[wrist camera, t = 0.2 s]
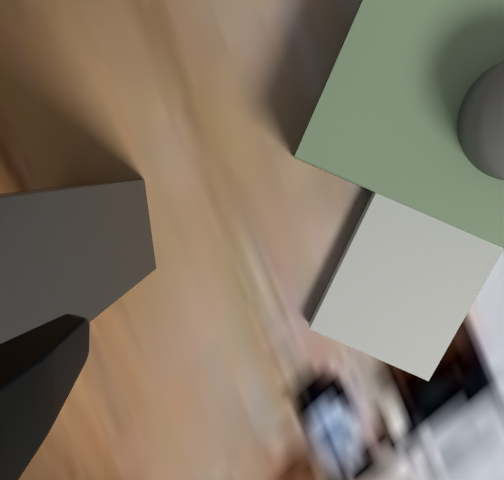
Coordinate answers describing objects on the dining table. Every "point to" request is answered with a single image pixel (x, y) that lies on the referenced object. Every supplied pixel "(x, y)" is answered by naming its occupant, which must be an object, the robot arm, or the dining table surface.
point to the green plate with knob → (413, 173)
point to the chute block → (70, 251)
